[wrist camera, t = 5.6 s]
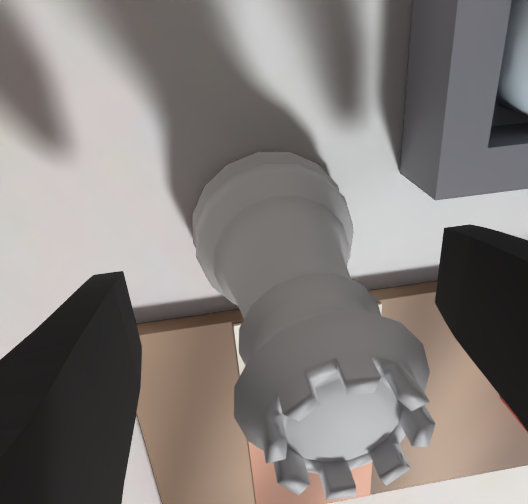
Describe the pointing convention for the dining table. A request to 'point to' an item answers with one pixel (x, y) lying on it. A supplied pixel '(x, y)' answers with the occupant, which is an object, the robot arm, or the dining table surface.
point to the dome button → (515, 61)
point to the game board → (253, 459)
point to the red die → (512, 412)
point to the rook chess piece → (308, 328)
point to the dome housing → (460, 102)
